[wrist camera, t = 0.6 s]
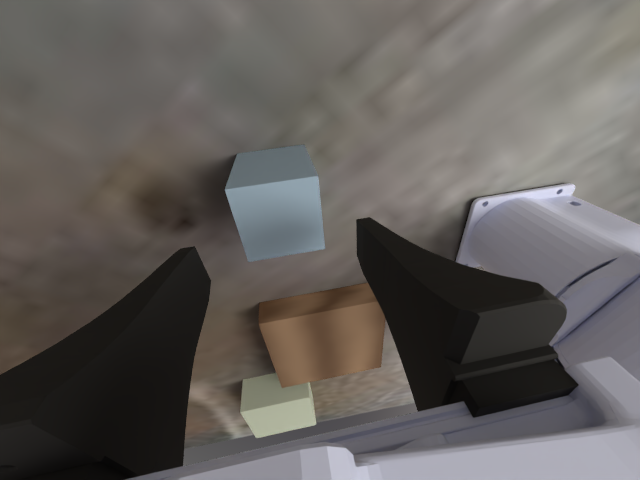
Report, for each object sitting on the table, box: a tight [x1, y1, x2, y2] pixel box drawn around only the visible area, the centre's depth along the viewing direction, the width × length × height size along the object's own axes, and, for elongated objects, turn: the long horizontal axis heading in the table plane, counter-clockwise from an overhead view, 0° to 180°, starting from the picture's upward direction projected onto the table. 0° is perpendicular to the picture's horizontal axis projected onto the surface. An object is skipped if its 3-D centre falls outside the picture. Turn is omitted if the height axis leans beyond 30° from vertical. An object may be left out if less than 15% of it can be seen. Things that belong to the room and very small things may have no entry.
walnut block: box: [259, 283, 385, 388], centre depth 28 cm, size 12×12×3 cm
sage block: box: [240, 373, 316, 438], centre depth 33 cm, size 8×8×4 cm
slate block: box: [225, 145, 325, 262], centre depth 16 cm, size 4×4×6 cm
